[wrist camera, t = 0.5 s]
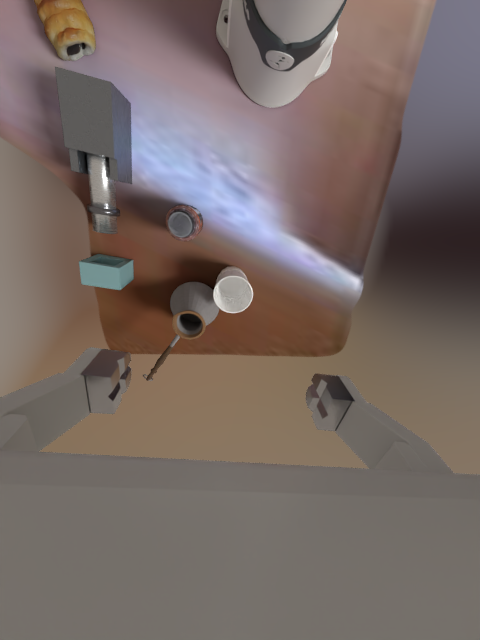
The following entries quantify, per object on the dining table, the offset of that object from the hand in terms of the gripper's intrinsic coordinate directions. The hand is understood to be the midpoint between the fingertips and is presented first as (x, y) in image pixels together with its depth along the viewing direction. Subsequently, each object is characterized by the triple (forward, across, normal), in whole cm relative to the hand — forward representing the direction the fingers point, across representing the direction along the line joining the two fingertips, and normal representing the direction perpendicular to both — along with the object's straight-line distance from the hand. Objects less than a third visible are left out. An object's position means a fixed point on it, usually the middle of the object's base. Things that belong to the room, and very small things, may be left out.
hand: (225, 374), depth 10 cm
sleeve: (+44, +23, -12) cm, 51 cm away
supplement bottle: (+44, +8, -2) cm, 45 cm away
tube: (+43, +23, -7) cm, 49 cm away
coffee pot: (+44, +7, +20) cm, 49 cm away
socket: (+44, +23, +10) cm, 51 cm away
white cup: (+44, -3, +9) cm, 45 cm away
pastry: (+44, +28, -26) cm, 59 cm away
